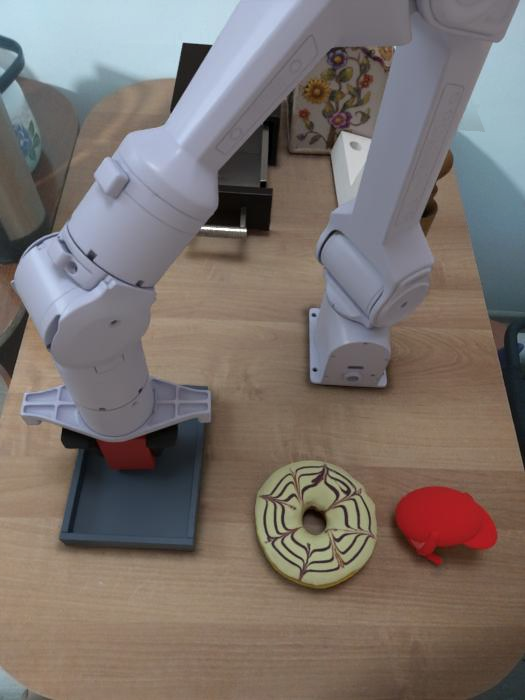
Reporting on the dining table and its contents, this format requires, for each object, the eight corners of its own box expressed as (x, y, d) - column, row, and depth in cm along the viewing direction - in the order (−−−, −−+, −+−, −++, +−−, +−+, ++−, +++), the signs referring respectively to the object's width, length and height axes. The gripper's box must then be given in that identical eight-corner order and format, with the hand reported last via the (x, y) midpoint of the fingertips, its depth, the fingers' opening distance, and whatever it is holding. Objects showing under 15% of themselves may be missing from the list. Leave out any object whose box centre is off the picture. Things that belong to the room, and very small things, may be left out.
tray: (194, 550, 49) (193, 545, 47) (64, 545, 48) (58, 539, 47) (208, 395, 57) (207, 385, 55) (97, 389, 56) (93, 379, 55)
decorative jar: (285, 102, 83) (299, -32, 68) (363, 106, 84) (394, -26, 68) (287, 156, 77) (302, 21, 61) (371, 160, 77) (407, 28, 62)
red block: (155, 469, 51) (145, 439, 45) (110, 470, 51) (95, 440, 45) (157, 425, 54) (149, 391, 48) (115, 425, 53) (101, 392, 47)
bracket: (391, 233, 72) (423, 189, 65) (340, 221, 69) (369, 175, 63) (376, 164, 78) (404, 118, 72) (330, 152, 76) (355, 104, 70)
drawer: (268, 258, 66) (271, 223, 61) (162, 251, 65) (157, 215, 60) (271, 157, 75) (275, 119, 70) (179, 151, 75) (176, 112, 70)
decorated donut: (331, 451, 54) (337, 436, 51) (392, 554, 50) (404, 544, 46) (234, 498, 51) (235, 485, 48) (290, 612, 47) (295, 606, 43)
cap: (386, 557, 50) (405, 541, 44) (390, 492, 53) (407, 470, 48) (477, 574, 49) (506, 560, 44) (475, 507, 52) (502, 487, 47)
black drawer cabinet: (275, 166, 76) (280, 116, 69) (174, 159, 75) (169, 108, 69) (277, 99, 83) (281, 49, 77) (185, 93, 83) (182, 42, 76)
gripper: (209, 328, 43) (212, 406, 54) (13, 328, 41) (59, 408, 53) (209, 412, 39) (212, 477, 50) (-7, 415, 38) (47, 480, 49)
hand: (133, 446), depth 51 cm, fingers closed on red block, 4 cm apart
